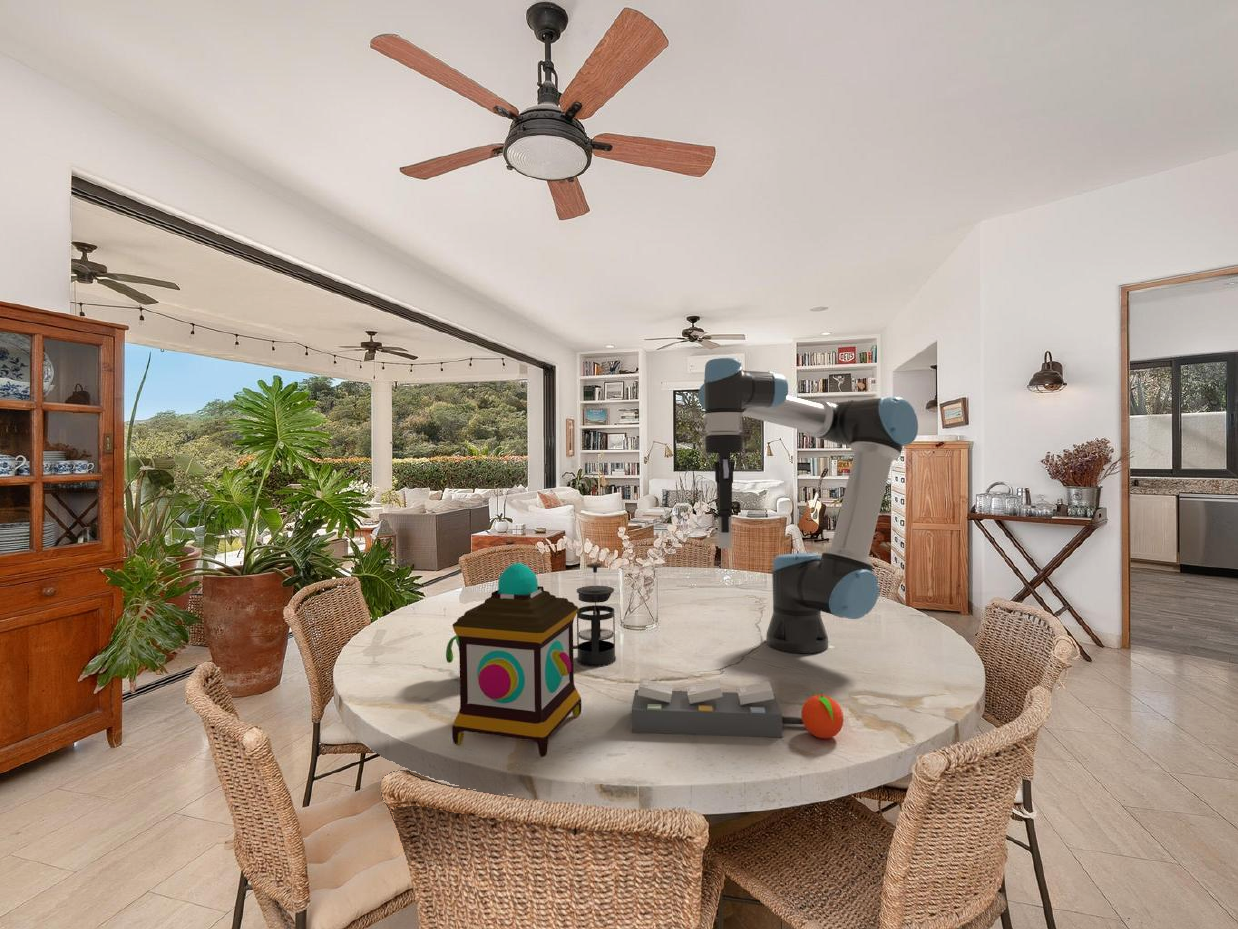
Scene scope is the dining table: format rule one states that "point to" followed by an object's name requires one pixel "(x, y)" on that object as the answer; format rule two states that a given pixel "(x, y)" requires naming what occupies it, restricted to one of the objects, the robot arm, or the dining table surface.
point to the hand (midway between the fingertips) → (724, 547)
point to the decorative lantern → (516, 662)
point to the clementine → (822, 716)
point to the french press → (595, 625)
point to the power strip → (709, 716)
